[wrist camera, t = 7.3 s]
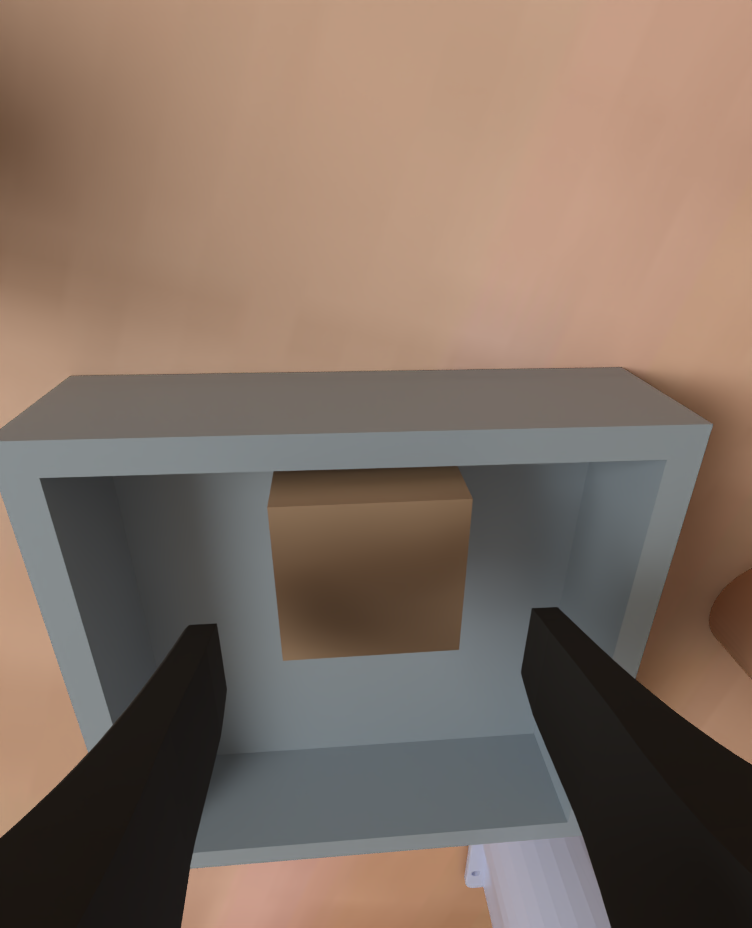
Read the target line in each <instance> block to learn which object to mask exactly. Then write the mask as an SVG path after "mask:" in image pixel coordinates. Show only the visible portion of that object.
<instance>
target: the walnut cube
mask: <svg viewBox="0 0 752 928" xmlns="http://www.w3.org/2000/svg"><path fill="white" fill-rule="evenodd" d="M472 503H473V498H472V496H471V494H470V492H469V490H468V487H467V485H466V483H465V481H464V479H463V477H462V475H461V473H460V470H459V468H458V466H436V467H402V468H368V469H334V470H299V471H273V477H272V483H271V489H270V494H269V500H268V506H267V511H268V521H269V530H270V540H271V550H272V560H273V570H274V579H275V589H276V599H277V609H278V619H279V628H280V638H281V648H282V658H283V661H289V660H305V659H321V658H337V657H353V656H369V655H385V654H401V653H417V652H433V651H449V650H459V645H460V634H461V623H462V612H463V601H464V590H465V580H466V569H467V558H468V547H469V536H470V525H471V514H472Z"/></svg>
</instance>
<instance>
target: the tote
mask: <svg viewBox="0 0 752 928" xmlns="http://www.w3.org/2000/svg"><path fill="white" fill-rule="evenodd" d="M712 426H713V424H712V423H711V422H709V421H707V420H706V419H704V418H702V417H701V416H699V415H698V414H696V413H694V412H693V411H691V410H690V409H688V408H686V407H685V406H683V405H682V404H680V403H678V402H677V401H675V400H673V399H672V398H670V397H669V396H667V395H665V394H664V393H662V392H661V391H659V390H657V389H656V388H654V387H653V386H651V385H649V384H648V383H646V382H644V381H643V380H641V379H640V378H638V377H636V376H635V375H633V374H632V373H630V372H628V371H627V370H625V369H623V368H622V367H611V368H546V369H482V370H417V371H352V372H287V373H222V374H158V375H93V376H69V377H68V378H67V379H65V380H64V381H63V382H61V383H60V384H59V385H57V386H56V387H55V388H54V389H52V390H51V391H50V392H48V393H47V394H46V395H44V396H43V397H42V398H40V399H39V400H38V401H36V402H35V403H34V404H32V405H31V406H30V407H29V408H27V409H26V410H25V411H23V412H22V413H21V414H19V415H18V416H17V417H15V418H14V419H13V420H11V421H10V422H9V423H7V424H6V425H5V426H4V427H2V428H1V429H0V492H1V495H2V498H3V501H4V504H5V507H6V510H7V513H8V516H9V519H10V522H11V525H12V528H13V531H14V534H15V537H16V540H17V543H18V545H19V548H20V551H21V554H22V557H23V560H24V563H25V566H26V569H27V572H28V575H29V578H30V581H31V584H32V587H33V590H34V593H35V596H36V599H37V602H38V605H39V608H40V611H41V614H42V617H43V620H44V623H45V626H46V628H47V631H48V634H49V637H50V640H51V643H52V646H53V649H54V652H55V655H56V658H57V661H58V664H59V667H60V670H61V673H62V676H63V679H64V682H65V685H66V688H67V691H68V694H69V697H70V700H71V703H72V706H73V709H74V711H75V714H76V717H77V720H78V723H79V726H80V729H81V732H82V735H83V738H84V741H85V744H86V747H87V750H88V753H89V752H90V751H91V749H92V748H93V747H94V746H95V745H96V744H97V743H98V742H99V741H100V739H101V738H102V737H103V736H104V735H105V734H106V732H107V731H108V730H109V729H110V728H111V726H112V725H113V724H114V723H115V722H116V720H117V719H118V718H119V717H120V716H121V715H122V713H123V712H124V711H125V710H126V709H127V707H128V706H129V705H130V704H131V702H132V701H133V700H134V699H135V697H136V696H137V695H138V693H139V692H140V691H141V689H142V688H143V687H144V685H145V684H146V683H147V682H148V680H149V679H150V678H151V676H152V675H153V674H154V672H155V671H156V670H157V668H158V667H159V665H160V664H161V663H162V661H163V660H164V658H165V657H166V656H167V654H168V653H169V651H170V650H171V648H172V647H173V646H174V644H175V643H176V641H177V640H178V638H179V637H180V635H181V634H182V632H183V631H184V629H185V628H186V627H187V626H188V625H195V624H215V623H217V627H218V633H219V640H220V646H221V653H222V659H223V666H224V673H225V679H226V686H227V694H226V702H225V711H224V718H223V726H222V733H221V738H220V742H219V747H218V751H217V755H216V759H215V763H214V768H213V772H212V776H211V780H210V784H209V788H208V792H207V796H206V800H205V804H204V808H203V812H202V816H201V821H200V825H199V829H198V833H197V837H196V841H195V846H194V851H193V855H192V860H191V865H190V869H192V868H204V867H215V866H227V865H239V864H251V863H263V862H275V861H287V860H299V859H311V858H323V857H335V856H347V855H359V854H371V853H383V852H395V851H407V850H419V849H431V848H443V847H455V846H467V845H479V844H491V843H503V842H515V841H527V840H539V839H551V838H563V837H574V836H582V833H581V830H580V828H579V825H578V823H577V820H576V817H575V815H574V812H573V810H572V807H571V805H570V803H569V800H568V798H567V796H566V793H565V791H564V788H563V786H562V784H561V781H560V779H559V777H558V774H557V772H556V770H555V767H554V765H553V762H552V760H551V758H550V755H549V753H548V751H547V748H546V746H545V743H544V741H543V739H542V736H541V734H540V731H539V729H538V727H537V724H536V722H535V719H534V717H533V714H532V711H531V707H530V704H529V701H528V697H527V694H526V690H525V686H524V683H523V679H522V675H521V668H522V662H523V656H524V650H525V645H526V639H527V633H528V627H529V621H530V616H531V610H532V608H546V607H558V608H559V609H560V610H561V611H562V612H563V613H564V614H565V615H566V616H568V617H569V618H570V619H571V620H572V621H573V622H574V623H575V624H576V625H577V626H578V627H579V628H580V629H581V630H582V631H583V632H584V633H585V634H586V635H587V636H589V637H590V638H591V639H592V640H593V641H594V642H595V643H596V644H597V645H598V646H599V647H600V648H601V649H602V650H603V651H605V652H606V653H607V654H608V655H609V656H610V657H611V658H612V659H613V660H614V661H615V662H617V663H618V664H619V665H620V666H621V667H622V668H623V669H624V670H626V671H627V672H628V673H629V674H630V675H631V676H632V677H634V678H635V679H636V675H637V672H638V669H639V666H640V662H641V659H642V656H643V652H644V649H645V646H646V643H647V639H648V636H649V633H650V630H651V626H652V623H653V620H654V616H655V613H656V610H657V607H658V603H659V600H660V597H661V593H662V590H663V587H664V584H665V580H666V577H667V574H668V571H669V567H670V564H671V561H672V557H673V554H674V551H675V548H676V544H677V541H678V538H679V535H680V531H681V528H682V525H683V521H684V518H685V515H686V512H687V508H688V505H689V502H690V499H691V495H692V492H693V489H694V485H695V482H696V479H697V476H698V472H699V469H700V466H701V462H702V459H703V456H704V453H705V449H706V446H707V443H708V440H709V436H710V433H711V430H712ZM436 466H458V468H459V470H460V473H461V475H462V477H463V479H464V481H465V483H466V485H467V487H468V490H469V492H470V494H471V496H472V498H473V503H472V514H471V525H470V536H469V547H468V558H467V569H466V580H465V590H464V601H463V612H462V623H461V634H460V645H459V650H449V651H433V652H417V653H401V654H385V655H369V656H353V657H337V658H321V659H305V660H289V661H283V658H282V648H281V638H280V628H279V619H278V609H277V599H276V589H275V579H274V570H273V560H272V550H271V540H270V530H269V521H268V511H267V506H268V500H269V494H270V489H271V483H272V477H273V471H299V470H334V469H368V468H402V467H436Z"/></svg>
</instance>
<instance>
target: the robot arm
mask: <svg viewBox="0 0 752 928" xmlns="http://www.w3.org/2000/svg"><path fill="white" fill-rule="evenodd" d="M521 675H522V679H523V683H524V686H525V690H526V694H527V697H528V701H529V704H530V707H531V711H532V714H533V717H534V719H535V722H536V724H537V727H538V729H539V731H540V734H541V736H542V739H543V741H544V743H545V746H546V748H547V751H548V753H549V755H550V758H551V760H552V762H553V765H554V767H555V770H556V772H557V774H558V777H559V779H560V781H561V784H562V786H563V788H564V791H565V793H566V796H567V798H568V800H569V803H570V805H571V807H572V810H573V812H574V815H575V817H576V820H577V823H578V825H579V828H580V830H581V833H582V836H574V837H563V838H551V839H539V840H527V841H515V842H503V843H491V844H479V845H469V849H468V856H467V863H466V869H465V876H464V878H465V883H466V885H467V886H468V887H470V888H476V887H484V891H485V896H486V900H487V905H488V909H489V913H490V918H491V922H492V927H493V928H752V765H751V764H750V763H748V762H747V761H745V760H743V759H742V758H740V757H739V756H737V755H735V754H734V753H732V752H731V751H730V750H728V749H726V748H725V747H724V746H722V745H721V744H719V743H718V742H716V741H715V740H713V739H712V738H711V737H709V736H708V735H706V734H705V733H704V732H702V731H701V730H699V729H698V728H697V727H695V726H694V725H692V724H691V723H690V722H688V721H687V720H686V719H684V718H683V717H682V716H680V715H679V714H678V713H676V712H675V711H674V710H672V709H671V708H670V707H669V706H667V705H666V704H665V703H664V702H662V701H661V700H660V699H659V698H658V697H656V696H655V695H654V694H653V693H651V692H650V691H649V690H648V689H646V688H645V687H644V686H643V685H642V684H641V683H639V682H638V681H637V680H636V679H635V678H634V677H632V676H631V675H630V674H629V673H628V672H627V671H626V670H624V669H623V668H622V667H621V666H620V665H619V664H618V663H617V662H615V661H614V660H613V659H612V658H611V657H610V656H609V655H608V654H607V653H606V652H605V651H603V650H602V649H601V648H600V647H599V646H598V645H597V644H596V643H595V642H594V641H593V640H592V639H591V638H590V637H589V636H587V635H586V634H585V633H584V632H583V631H582V630H581V629H580V628H579V627H578V626H577V625H576V624H575V623H574V622H573V621H572V620H571V619H570V618H569V617H568V616H566V615H565V614H564V613H563V612H562V611H561V610H560V609H559V608H558V607H546V608H532V610H531V616H530V621H529V627H528V633H527V639H526V645H525V650H524V656H523V662H522V668H521ZM226 694H227V686H226V679H225V673H224V666H223V659H222V653H221V646H220V640H219V633H218V627H217V623H215V624H195V625H188V626H187V627H186V628H185V629H184V631H183V632H182V634H181V635H180V637H179V638H178V640H177V641H176V643H175V644H174V646H173V647H172V648H171V650H170V651H169V653H168V654H167V656H166V657H165V658H164V660H163V661H162V663H161V664H160V665H159V667H158V668H157V670H156V671H155V672H154V674H153V675H152V676H151V678H150V679H149V680H148V682H147V683H146V684H145V685H144V687H143V688H142V689H141V691H140V692H139V693H138V695H137V696H136V697H135V699H134V700H133V701H132V702H131V704H130V705H129V706H128V707H127V709H126V710H125V711H124V712H123V713H122V715H121V716H120V717H119V718H118V719H117V720H116V722H115V723H114V724H113V725H112V726H111V728H110V729H109V730H108V731H107V732H106V734H105V735H104V736H103V737H102V738H101V739H100V741H99V742H98V743H97V744H96V745H95V746H94V747H93V748H92V749H91V751H90V752H89V753H88V754H87V755H86V756H85V757H84V758H83V759H82V760H81V761H80V762H79V763H78V765H77V766H76V767H75V768H74V769H73V770H72V771H71V772H70V773H69V774H68V775H67V776H66V777H65V778H64V779H63V780H62V781H61V782H60V783H59V784H58V785H57V786H56V787H55V788H54V789H53V790H52V791H51V792H50V793H49V794H48V795H47V796H46V797H44V798H43V799H42V800H41V801H40V802H39V803H38V804H37V805H36V806H35V807H34V808H33V809H32V810H31V811H30V812H29V813H28V814H27V815H26V816H24V817H23V818H22V819H21V820H20V821H19V822H18V823H17V824H16V825H15V826H13V827H12V828H11V829H10V830H9V831H8V832H7V833H6V834H4V835H3V836H2V837H1V838H0V928H181V923H182V916H183V910H184V903H185V897H186V890H187V884H188V877H189V871H190V865H191V860H192V855H193V851H194V846H195V841H196V837H197V833H198V829H199V825H200V821H201V816H202V812H203V808H204V804H205V800H206V796H207V792H208V788H209V784H210V780H211V776H212V772H213V768H214V763H215V759H216V755H217V751H218V747H219V742H220V738H221V733H222V726H223V718H224V711H225V702H226Z"/></svg>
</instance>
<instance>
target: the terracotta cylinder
mask: <svg viewBox="0 0 752 928" xmlns="http://www.w3.org/2000/svg"><path fill="white" fill-rule="evenodd" d="M709 624H710V629H711V631H712V633H713V635H714V636H715V638H716V639H717V640H718V641H719V642H720V643H721V645H722V646H723V647H724V648H725V649H726V650H727V652H728V653H729V654H730V655H731V656H732V657H733V659H734V660H735V661H736V662H737V663H738V664H739V666H740V667H741V668H742V669H743V670H744V671H745V673H746V674H747V675H748V676H749V677H750V678H751V679H752V569H750V570H748V571H746V572H744V573H743V574H741V575H740V576H738V577H737V578H736V579H734V580H733V581H732V582H731V583H730V584H728V585H727V586H726V587H725V588H724V590H723V591H722V592H721V593H720V594H719V596H718V597H717V599H716V600H715V602H714V604H713V606H712V609H711V612H710V618H709Z"/></svg>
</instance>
